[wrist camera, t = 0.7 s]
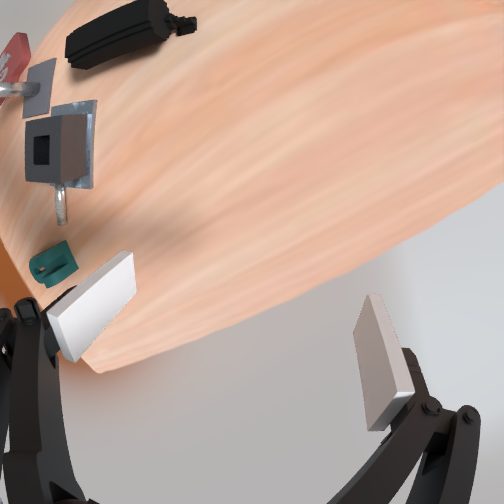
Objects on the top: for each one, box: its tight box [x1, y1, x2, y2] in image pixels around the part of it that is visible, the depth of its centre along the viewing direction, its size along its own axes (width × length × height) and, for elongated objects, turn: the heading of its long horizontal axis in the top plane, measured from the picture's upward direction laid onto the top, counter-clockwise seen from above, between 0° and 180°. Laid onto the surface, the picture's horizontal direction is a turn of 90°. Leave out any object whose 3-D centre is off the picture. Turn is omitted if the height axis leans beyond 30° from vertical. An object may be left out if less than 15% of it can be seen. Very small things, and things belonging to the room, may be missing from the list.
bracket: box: [29, 240, 79, 288], centre depth 49 cm, size 18×7×8 cm, turn 108°
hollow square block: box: [25, 100, 97, 225], centre depth 38 cm, size 22×12×8 cm, turn 172°
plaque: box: [0, 33, 31, 106], centre depth 34 cm, size 18×4×15 cm
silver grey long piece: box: [0, 82, 41, 97], centre depth 29 cm, size 7×3×14 cm, turn 173°
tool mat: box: [23, 58, 56, 118], centre depth 36 cm, size 12×10×1 cm
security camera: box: [65, 0, 197, 70], centre depth 27 cm, size 7×18×10 cm, turn 94°
